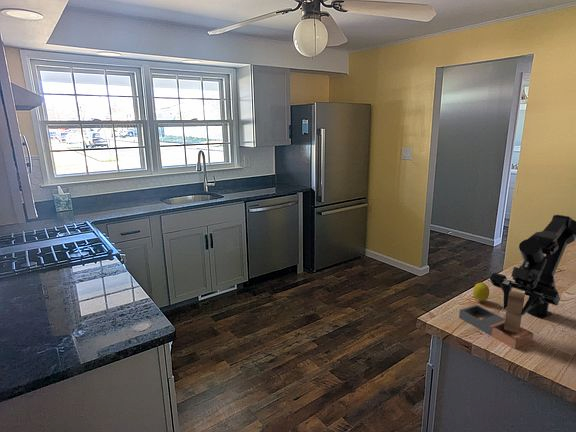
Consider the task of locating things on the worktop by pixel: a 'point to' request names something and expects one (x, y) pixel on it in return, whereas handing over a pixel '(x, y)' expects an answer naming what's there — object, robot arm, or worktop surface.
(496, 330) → the rail
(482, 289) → the lemon
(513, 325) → the peg
